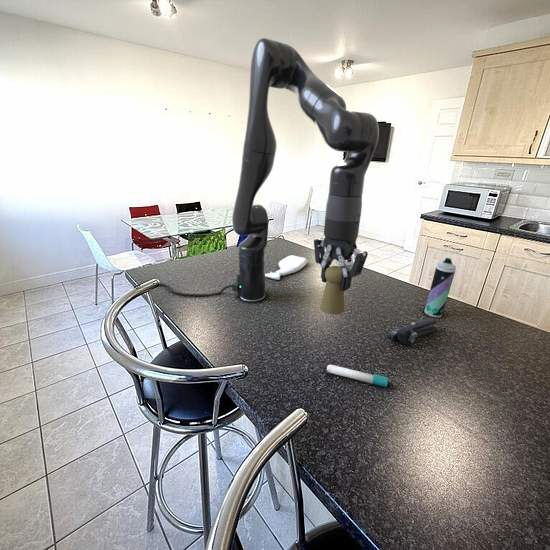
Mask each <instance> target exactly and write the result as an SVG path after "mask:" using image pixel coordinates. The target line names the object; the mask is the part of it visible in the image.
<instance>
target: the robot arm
mask: <svg viewBox="0 0 550 550" xmlns="http://www.w3.org/2000/svg"><path fill="white" fill-rule="evenodd" d="M250 60H251V61H250V71H249V73H250V74H249V90H248V92H249V93H248V95H249V96H248V109H247V119H246V128H245V133H244V134H245V135H244V140H243V149H242V156H241V164H240V165H241V166H240V167H241V168H240V174H239V181H238V186H237V191H236V197H235V201H234V205H233V210H232V216H231V217H232V218H231V224H232V228H233V231H234V232H235V233H236V235H238V236H247V237H246V238H245V239H244V240H243V241H241V242H239V244H238V247H237V248H238V250H237V251H238V272H237V274H236V280H235V282H233V283H232V284H228V285H226V286H224V287H223V288H222V289H221V290H219V291H218V292H213V293H186V292H180V291H176V290H173V289H172V288H171V287H170V286H169V285H167V284H166V283H162V282H159V283H160V284H159V285H158V286H163V287H165V288H166V289H167V290H168V291H169V292H171V293H173V294H176V295H180V296H184V297H213V296H219V295H220V294H222V293H223V292H224V291H225V290H226V289H229V288H231V290H232V292H237V298H239V299H240V300H242V301H244V302H247V303H257V302H261V301H263V300H265V298H266V276H265V274H266V248H267V246H268V240H269V239H268V238H269V214H268V211H267V209H266V207H264V206H263V205H261V204H254V202H255V198H256V196H257V194H258V192H259V190H260V189H261V188H262V186H263V185H264V183H265V182H266V181H267V179H268V178H269V176H270V174H271V172H272V170H273V168H274V164H275V158H276V153H277V147H278V146H277V145H278V144H277V138H276V135H275V134H276V133H275V131H274V128H273V125H272V122H271V118H270V113H269V108H268V106H269V105H268V104H269V93H270V88H273V89H278V90H283V89H284V90H287V91H289V92H292V93H293V94H295V95H296V96H297V101H298V105H299V108H300V109H301V111H302V112H303V114H304V115H305V116H306V117H307V118H308V119H309V120H310V121H311V122H312V123H313V124H315V125H316V126H317V128H318V131H319V133H320V135H321V138H322V139H323V142H324V143H325V144H326V145H327V146H328V147H329V148H331V149H332V150H333V151H336V152H343V153H344V152H346V155H345V158H344V160H343V161H342V162H341V163H340V164H336V165H335V166H333V167H332V168H331V171H330V175H329V186H328V195H327V200H326V204H325V216H324V227H323V228H324V229H323V235H324V238H323V237H319V238H315V239H313V249H314V260H315V263H316V264H319V265H320V267H321V270H320V271H321V272H320V279H321V282H322V283H324V284H326V281H327V280H326V278H325V271H326V269H327V268H328V267H331V266H332V264H333V262H334V260H335V261H337V262H338V263H339V266H340V267H341V268H342V271H343V276H342V282H341V290H342V291H344V292H346V291H348V290H349V289H350V288H351V286H352V280H353V279H352V278H355V277H356V276H360V275H361V274H362V272H363V269H364V266H365V263H366V261H367V258H368V256H369V255H368V251H367V250H364V251H362V250H361V249H359V248H358V246H357V240H358V237H359V231H360V224H361V218H362V209H363V193H364V185H365V178H366V177H365V176H366V173H367V171H368V169H369V167H370V164H371V161H372V158H373V156H374V153H375V151H376V148H377V146H378V145H377V144H378V142H379V136H380V128H379V123H378V120H377V118H376V117H375V116H374V114H372V113H370V112H363V111H361V112H360V111H353V110H347V103H346V101H345V99H344V98H343V97H342V96H341V95H340V94H339V93H338V92H337V91H335V90H334V89H333V88H332V87H330V86H329V85H328V84H326V83H325V82H324V81H323V80H322V79H320V78H319V76H317V75H316V74H315V73H314V72H313V70H312V69H311V68H310V67H309V65H308V64H307V63H306V61H305V60H304V59H303V57H302V56H301V54H300V53H299V52H298V51H297V49H296V48H294V47H293V46H292V45H290V44H287V43H284V42H280V41H277V40H273V39H271V38H265V37H261V38H260V39H258V40H257V42H256V43H255V45H254V48H253V52H252V56H251V59H250ZM353 255H354V256H353ZM143 283H144V282H141V283H139V284H136V286H134V288H136V287H138V286H139V287H141V286H140V285H141V284H143ZM139 287H138V288H139ZM136 289H137V288H136Z"/></svg>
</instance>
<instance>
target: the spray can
mask: <svg viewBox="0 0 550 550" xmlns="http://www.w3.org/2000/svg"><path fill="white" fill-rule="evenodd" d="M456 269H457V266H456V265H454V263H453V261H452V259H451V257H445V259H444V260H443V261H441V262H437V264H436V266H435V270H434V274H433V277H432V281H431V285H430V288H429V292H428V296H427V300H426V304H425V308H424V313H425V314H426V315H427V316H428V317H431V318H442V316H443V313H444V311H445V308H446V303H447V301H448V297H449V294H450V290H451V287H452V285H453V280H454V277H455V274H456V271H457V270H456Z"/></svg>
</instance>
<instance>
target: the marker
mask: <svg viewBox="0 0 550 550" xmlns="http://www.w3.org/2000/svg"><path fill="white" fill-rule="evenodd" d="M326 371H327V372H328V373H329V374H333V375H337V376H340V377H344V378H347V379H353V380H356V381H360V382H364V383H368V384H371V385H374V386H378V387H383V388H387V387H388V383H389V377H388V376H383V375H379V374H375V373H373V374H371V373H367V372H363V371H358V370H354V369H351V368H346V367H343V366H339V365H334V364H328V365H327V366H326Z"/></svg>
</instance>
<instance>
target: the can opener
mask: <svg viewBox="0 0 550 550" xmlns="http://www.w3.org/2000/svg"><path fill="white" fill-rule="evenodd" d="M437 323H438V320H437V319H435V318H428V319H427V318H426V319H422V320H419V321H415V322H414V321H413V322H411V323H410V324H408V325H407V324H406V325H405V326H402V327H400V328H394V329H392V330H390V331H389V332H388V334H387V336H388V338H390V339H392V340H393V341H399V342H400V343H401V344H402V345H403V344H404V345H408V346H413V345H414V344H415V340H416V339H417V338H418V337H421V336H425V335H428V334H431V333H433V332H435V331H436V330H437V328H436V327H435V326H434V325H436V324H437Z"/></svg>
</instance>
